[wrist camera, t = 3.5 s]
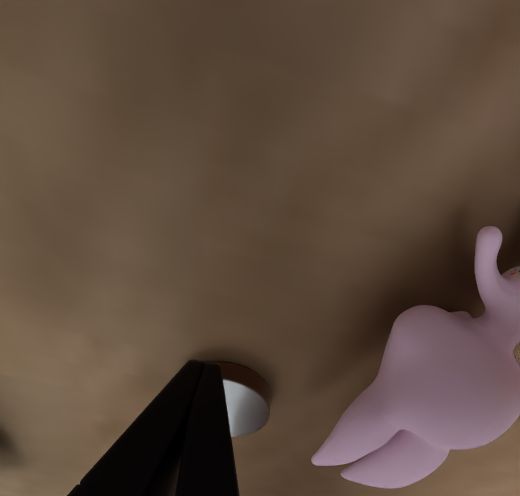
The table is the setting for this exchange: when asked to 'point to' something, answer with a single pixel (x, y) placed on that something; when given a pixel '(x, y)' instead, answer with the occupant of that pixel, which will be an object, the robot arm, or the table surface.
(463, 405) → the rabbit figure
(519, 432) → the table surface
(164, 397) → the robot arm
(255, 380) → the spoon
